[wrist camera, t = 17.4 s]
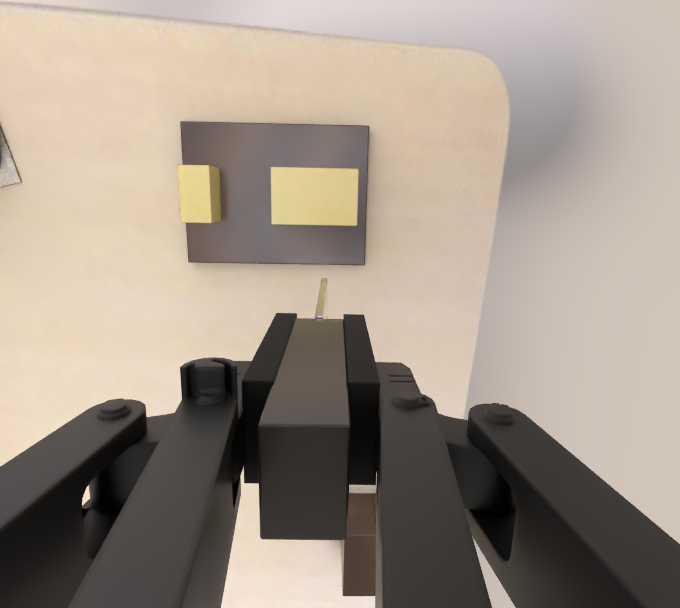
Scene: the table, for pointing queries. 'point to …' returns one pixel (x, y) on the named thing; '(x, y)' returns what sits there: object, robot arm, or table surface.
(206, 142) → the butter board
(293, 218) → the butter block
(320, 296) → the butter knife
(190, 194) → the butter slice
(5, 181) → the condiment
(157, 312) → the table surface
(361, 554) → the knife block
